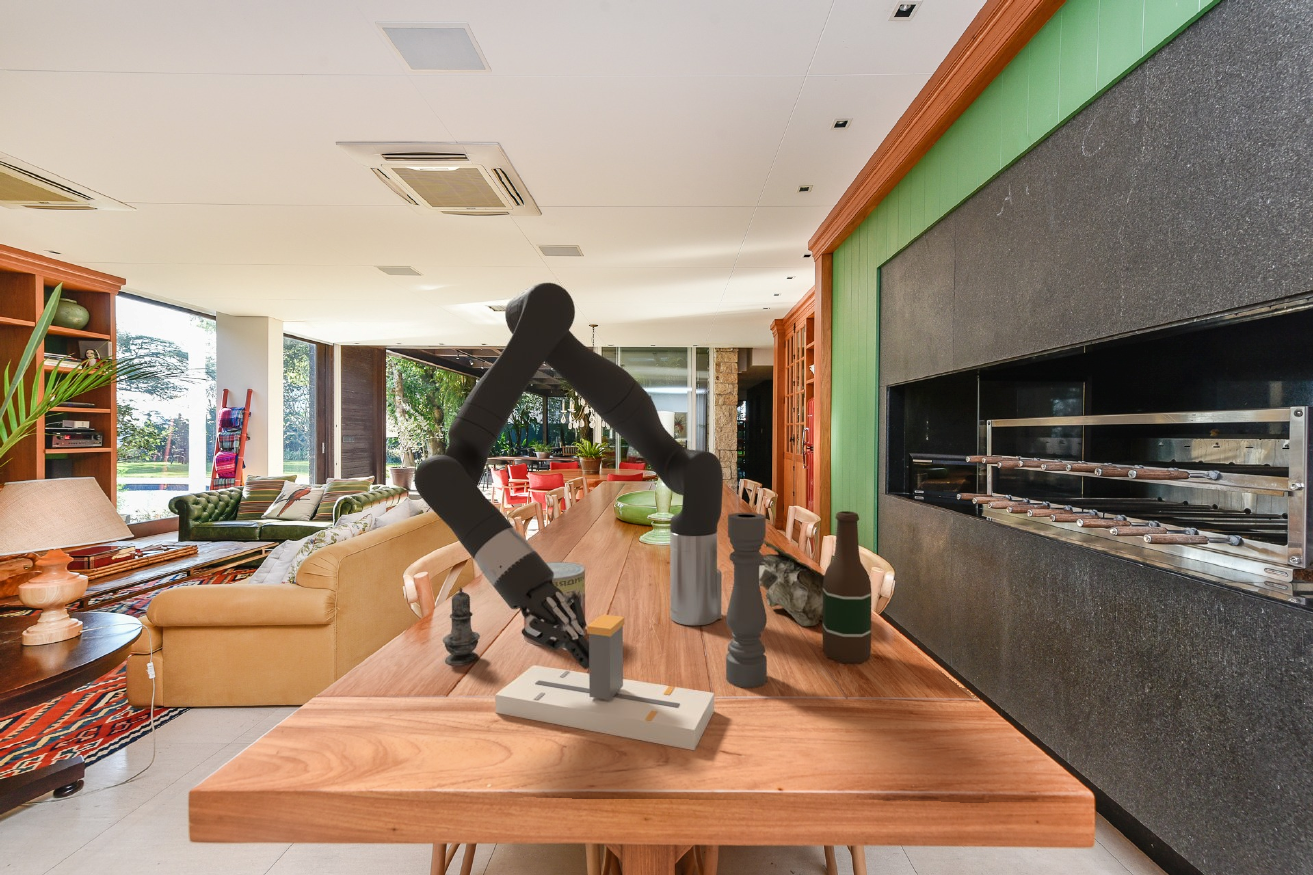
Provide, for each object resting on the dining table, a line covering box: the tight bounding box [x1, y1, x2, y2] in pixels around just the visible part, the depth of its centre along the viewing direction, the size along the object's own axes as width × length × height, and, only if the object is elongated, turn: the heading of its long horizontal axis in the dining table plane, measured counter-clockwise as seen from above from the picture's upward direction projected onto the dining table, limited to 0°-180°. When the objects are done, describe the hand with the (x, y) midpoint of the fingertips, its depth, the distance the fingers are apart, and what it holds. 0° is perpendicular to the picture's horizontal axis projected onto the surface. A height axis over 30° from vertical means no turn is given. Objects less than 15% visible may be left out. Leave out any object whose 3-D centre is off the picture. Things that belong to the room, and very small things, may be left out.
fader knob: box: [586, 614, 626, 700], centre depth 81 cm, size 3×5×10 cm
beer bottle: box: [822, 510, 872, 664], centre depth 100 cm, size 8×8×24 cm
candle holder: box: [725, 512, 768, 689], centre depth 91 cm, size 6×6×25 cm
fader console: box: [494, 664, 715, 751], centre depth 81 cm, size 28×10×3 cm, turn 71°
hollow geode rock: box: [759, 540, 825, 627], centre depth 125 cm, size 28×13×15 cm
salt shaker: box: [442, 586, 481, 667], centre depth 99 cm, size 6×6×12 cm
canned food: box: [523, 561, 587, 647], centre depth 110 cm, size 11×11×12 cm
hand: (592, 663), depth 82 cm, fingers closed
